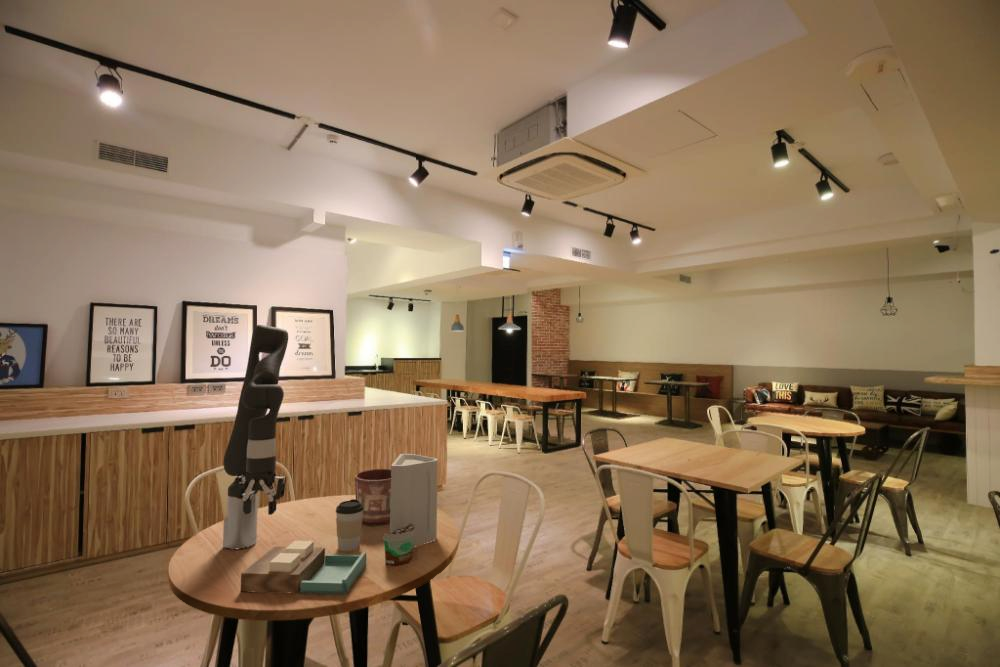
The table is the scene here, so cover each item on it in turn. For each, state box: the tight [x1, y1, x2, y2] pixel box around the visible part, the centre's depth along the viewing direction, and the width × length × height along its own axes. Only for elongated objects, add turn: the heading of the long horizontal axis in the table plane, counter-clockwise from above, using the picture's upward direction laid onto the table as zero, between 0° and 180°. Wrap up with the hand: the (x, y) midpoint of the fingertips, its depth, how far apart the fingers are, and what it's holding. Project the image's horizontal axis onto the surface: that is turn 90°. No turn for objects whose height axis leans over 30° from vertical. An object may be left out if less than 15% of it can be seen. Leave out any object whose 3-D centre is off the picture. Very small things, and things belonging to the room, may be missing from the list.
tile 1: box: [269, 553, 301, 572], centre depth 133 cm, size 6×6×2 cm
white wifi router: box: [389, 453, 439, 548], centre depth 167 cm, size 19×15×28 cm
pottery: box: [354, 468, 391, 526], centre depth 186 cm, size 18×18×18 cm
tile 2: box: [285, 540, 315, 558], centre depth 142 cm, size 6×6×2 cm
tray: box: [299, 551, 367, 596], centre depth 137 cm, size 12×18×4 cm
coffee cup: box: [335, 498, 364, 552], centre depth 159 cm, size 9×9×15 cm
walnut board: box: [240, 545, 326, 594], centre depth 138 cm, size 16×18×5 cm
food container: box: [382, 523, 416, 567], centre depth 149 cm, size 12×6×10 cm, turn 148°
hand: (259, 513), depth 134 cm, fingers open, 6 cm apart
